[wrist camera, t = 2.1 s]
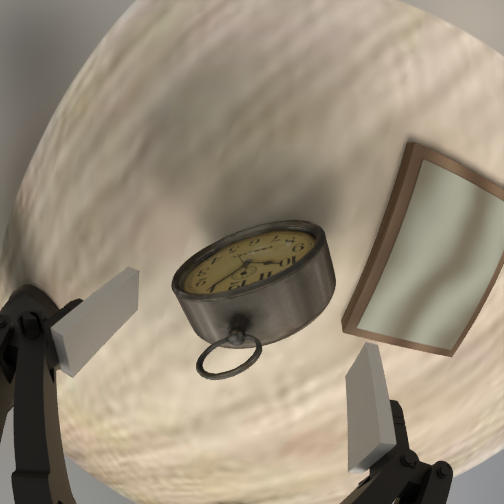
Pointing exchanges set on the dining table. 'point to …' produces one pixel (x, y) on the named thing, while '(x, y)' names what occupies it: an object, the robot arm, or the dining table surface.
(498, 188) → the mirror
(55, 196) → the dining table surface
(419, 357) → the dining table surface
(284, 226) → the alarm clock
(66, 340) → the robot arm
